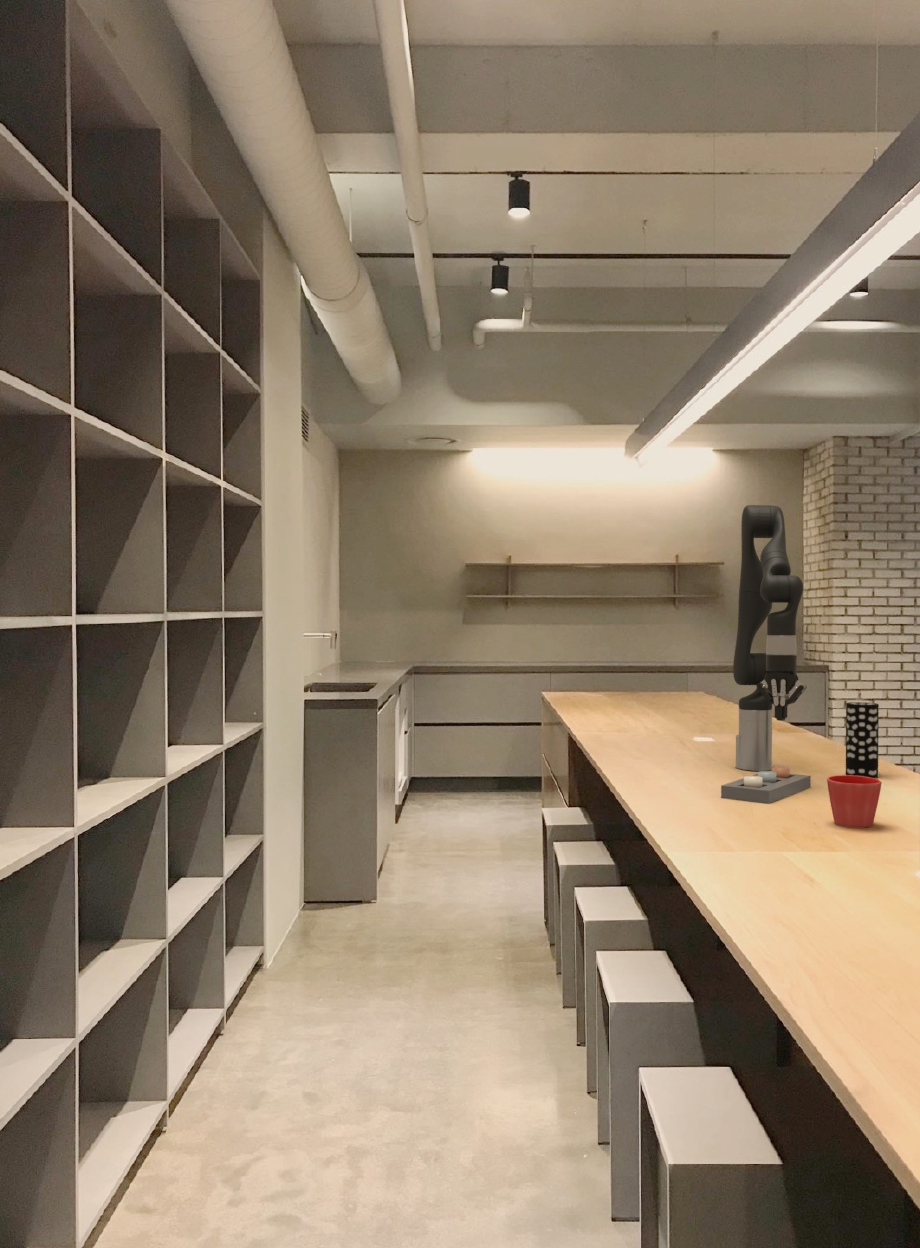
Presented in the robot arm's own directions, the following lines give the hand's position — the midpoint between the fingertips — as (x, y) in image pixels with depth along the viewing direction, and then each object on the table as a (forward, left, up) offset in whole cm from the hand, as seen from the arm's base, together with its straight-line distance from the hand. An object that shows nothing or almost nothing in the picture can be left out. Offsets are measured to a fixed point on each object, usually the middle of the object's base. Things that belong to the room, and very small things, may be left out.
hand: (781, 720), depth 264 cm
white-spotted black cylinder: (+11, +31, -18) cm, 37 cm away
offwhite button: (0, -18, -15) cm, 24 cm away
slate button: (0, -9, -15) cm, 18 cm away
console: (0, -9, -17) cm, 20 cm away
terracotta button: (0, 0, -15) cm, 15 cm away
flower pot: (+29, -34, -18) cm, 48 cm away
